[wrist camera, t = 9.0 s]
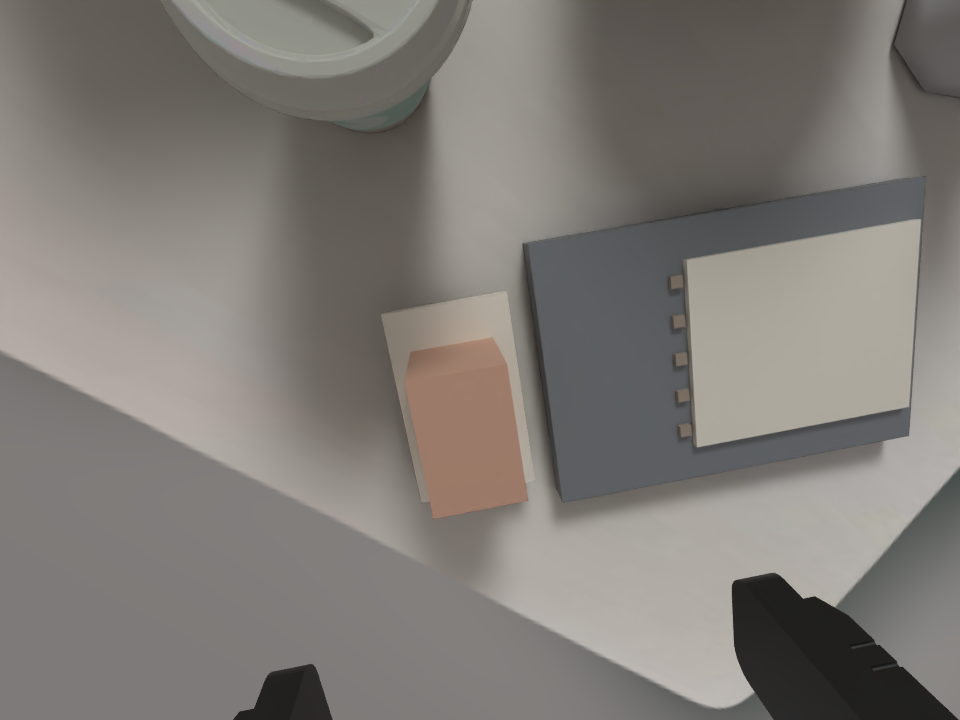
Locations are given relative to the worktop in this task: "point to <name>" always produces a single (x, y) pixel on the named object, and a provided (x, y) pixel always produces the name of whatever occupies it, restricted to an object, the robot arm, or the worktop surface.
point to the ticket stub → (461, 402)
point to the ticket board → (727, 336)
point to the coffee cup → (326, 53)
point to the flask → (932, 44)
